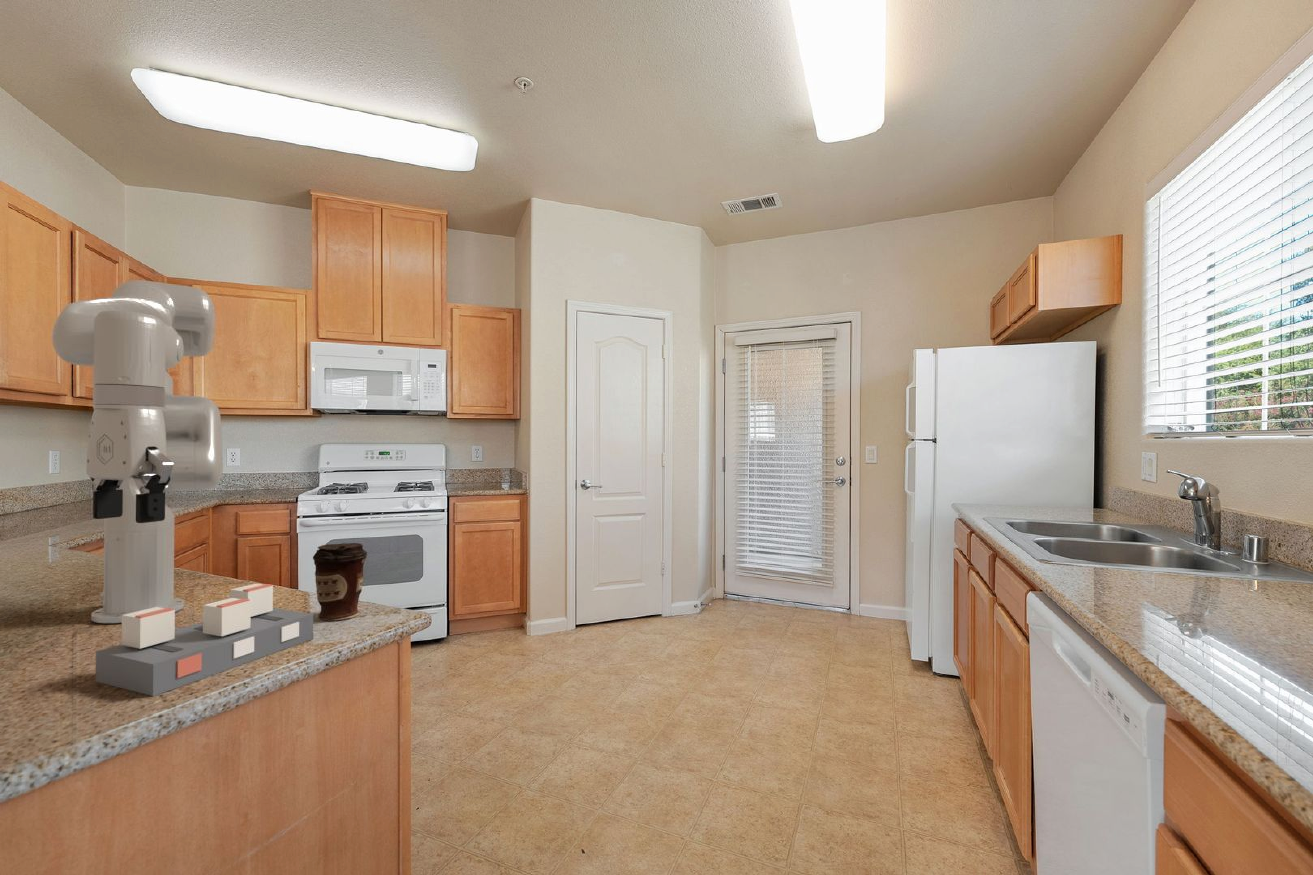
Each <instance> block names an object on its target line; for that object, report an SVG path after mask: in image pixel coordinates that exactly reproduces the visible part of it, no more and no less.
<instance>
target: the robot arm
mask: <svg viewBox="0 0 1313 875" xmlns="http://www.w3.org/2000/svg"><path fill="white" fill-rule="evenodd" d="M215 326H216V310H215V306H214V303H213V300H212V298H211V296H209V294H208V293H207V292H206V291H204V290H203V289H201V288H199V287H195V286H189V285H181V284H173V283H168V282H167V283H166V282H159V281H152V280H143V279H141V280H140V279H137V280H136V279H134V280H128V281H125V282H121V284H119V285H118V286H117V287H116V288H115V289H114V290H113V292H112V295H111V296H109V297H102V298H93V299H84V300H77V301H74V302H72V303H68V304H66V306H64V307H63V309H62V310H61V311H60V313H59V315H58V316H57V319H56V320H55V322H54V325H53V330H52V336H51V338H52V339H51V340H52V346H53V349H54V351H55V353H56V355H57V356H58V357H59V359H61V360H62V361H64V362H66V363H67V364H70V365H75V366H81V367H82V366H83V367H92V368H93V374H92V376H93V377H92V378H93V380H92V381H93V385H92V386H93V388H92V390H93V391H92V404H93V405H92V409H93V413H92V415H91V420H90V425H89V432H88V438H87V439H88V441H87V452H86V454H87V455H86V474H87V475H88V476H89V478H90V479H91V482H92V483H91V490H92V518H93V519H95V520H102V519H104V521H103V523H104V524H103V525H104V526H103V527H104V528H103V530H104V531H103V532H104V533H103V534H104V536H103V554H104V555H103V591H102V592H101V593H100V594H99V596H100V599H102V600H103V606H102V607H100V608H98V609H96V610H94V611H92V613H90V614H91V615H90V620H91V621H92V622H94V623H98V624H122V615H124V614H129V613H133V612H137V611H141V610H146V609H150V608H154V607H160V608H172V609H174V610H175V613H176V612H178V611H180V610H182V609H184V607H185V600H184V599H182V598H180V597H175V596H174V594H175V592H174V591H175V590H174V586H175V516H174V513H173V511H172V508H170V507H169V506H168V505H167V504H166V493H167V492H169V493H171V492H192V491H193V492H194V491H205V490H210V489H213V488H216V486H218V485H219V483H220V482H221V480H222V477H223V468H224V467H223V466H224V465H223V464H224V462H223V438H222V433H223V432H222V421H221V420H222V419H221V413H220V410H219V406H218V405H217V403H216V402H215V401H214V400H212V399H210V398H208V397H204V396H197V395H196V396H194V395H177V394H176V395H175V394H174V380H173V378H172V376H171V375H170V374H169V372H167V370H171V369H173V368H175V367H176V366H177V365H178V364H179V363H180V362H181V361H182V360H183V357H191V358H194V357H195V358H196V357H197V358H199V357H205V356H207V355H208V354H209V353H211V351H212V350H213V346H214V342H215V341H214V340H215Z"/></svg>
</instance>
